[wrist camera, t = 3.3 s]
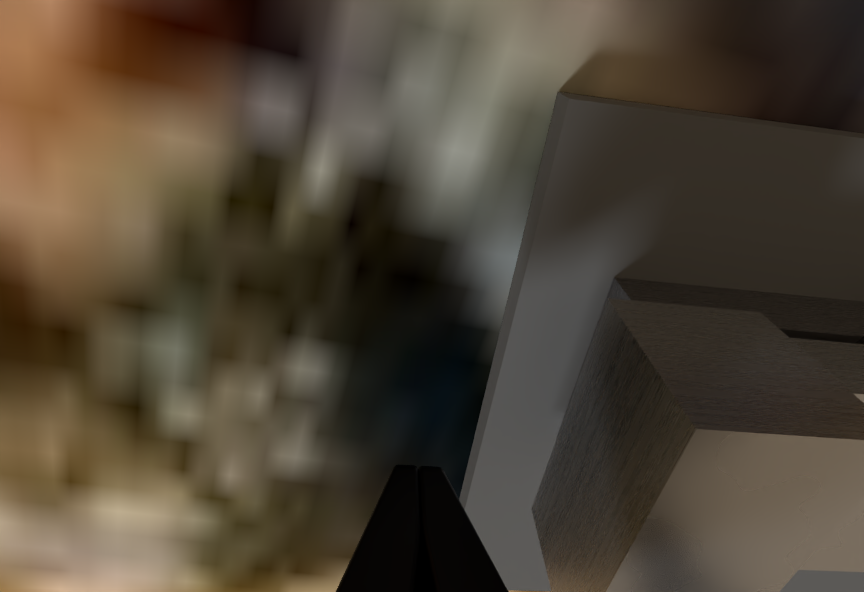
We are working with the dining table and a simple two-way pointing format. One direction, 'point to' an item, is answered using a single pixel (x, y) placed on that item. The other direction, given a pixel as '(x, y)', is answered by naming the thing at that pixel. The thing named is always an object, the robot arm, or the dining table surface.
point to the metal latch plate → (704, 456)
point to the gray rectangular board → (649, 271)
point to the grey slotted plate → (754, 308)
